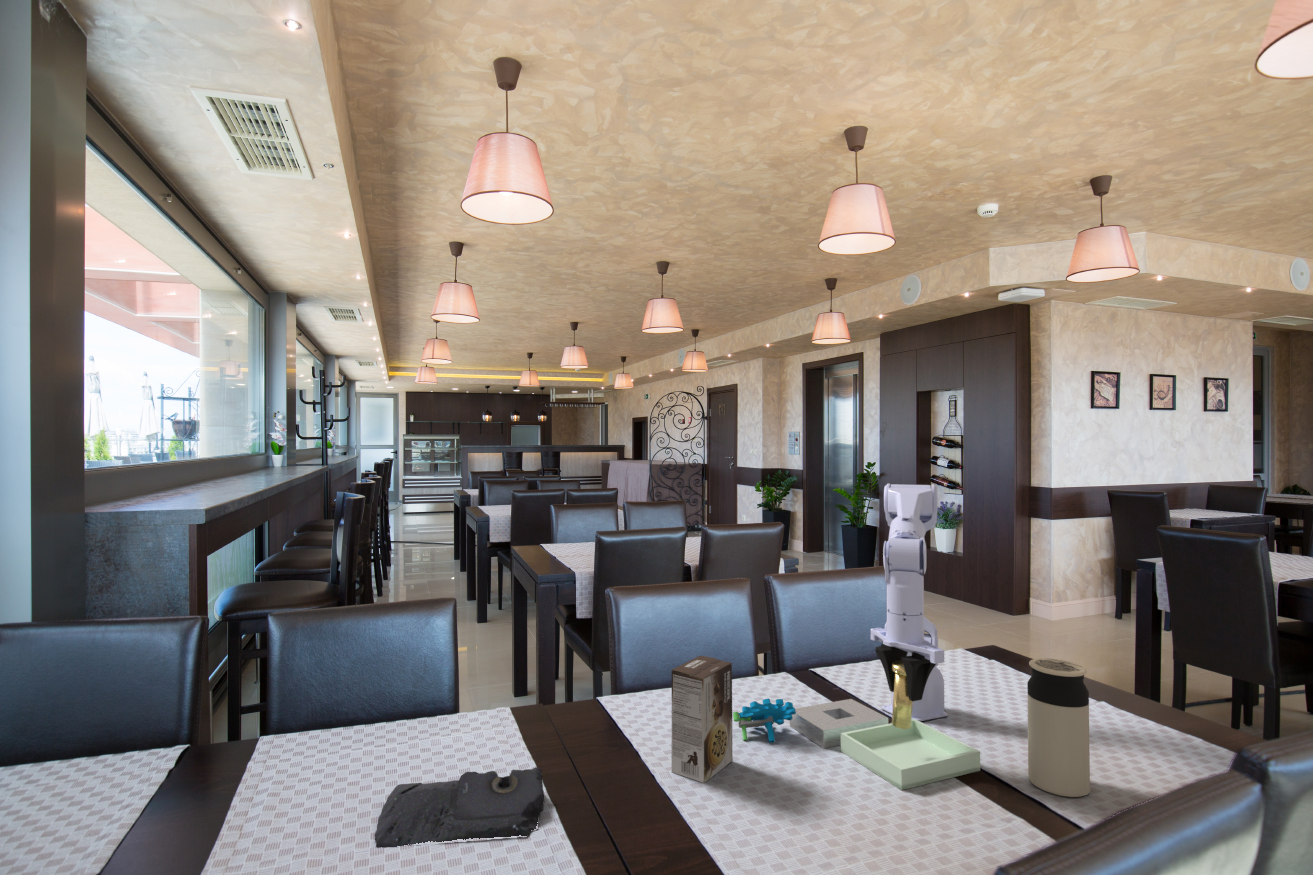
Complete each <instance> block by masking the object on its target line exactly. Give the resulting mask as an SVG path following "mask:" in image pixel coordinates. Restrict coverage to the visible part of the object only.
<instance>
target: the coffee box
mask: <svg viewBox="0 0 1313 875" xmlns="http://www.w3.org/2000/svg"><path fill="white" fill-rule="evenodd" d="M670 743H671V756H670V757H671V773H674V774H675V775H676V774H677V775H680V776H683V777H685V778H688V779H691V780H693V781H697V782H699V783H703V784H705V783H706V782H707V781H709V780H710V779H712V778H713V776H715V775H717V774H718V773H719V772H720V771H721V770H723V769H724V768H726V767H727V765H729V764H730V763H731V762H732V761H733V760H734V759H733V758H734V756H733V662H731V661H725V660H721V659H718V658H715V657H712V656H711V657H710V656H705V655H698V656H696V657H693V659H690V660H689V661H686V662H685V663H682V664H679V665H678V666H676V667H674V668H673V669H671V742H670Z"/></svg>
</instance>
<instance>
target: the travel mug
mask: <svg viewBox="0 0 1313 875" xmlns="http://www.w3.org/2000/svg"><path fill="white" fill-rule="evenodd" d="M1028 664H1029V667H1030V668H1031V676H1030V677H1029V679H1028V681H1027V682H1026V683H1027V684H1026V685H1027V764H1028V765H1027V772H1028V773H1027V775H1028V776H1027V777H1028V780H1029V781H1030V783H1032V784H1033V785H1034V786H1036V787H1037V788H1039V789H1040V790H1043V791H1045V792H1047V793H1049V794H1052V795H1056V796H1059V797H1065V798H1067V797H1068V798H1079V797H1084V796H1086V795H1089V794H1090V792H1091V778H1090V775H1091V772H1090V771H1091V768H1090V767H1091V765H1090V764H1091V762H1090V757H1091V756H1090V753H1091V752H1090V694H1089V693H1090V691H1089V690H1088V688H1087V686H1086V684H1085V683H1084V680H1085V679H1084V678H1085V676H1086V674H1087V669H1086V668H1085V667H1084V666H1083V665H1081V664H1079V663H1075V662H1072V661H1069V660H1063V659H1058V658H1048V657H1043V658H1041V657H1040V658H1033V659H1031V660H1029V662H1028Z"/></svg>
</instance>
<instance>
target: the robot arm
mask: <svg viewBox="0 0 1313 875" xmlns="http://www.w3.org/2000/svg"><path fill="white" fill-rule="evenodd" d="M883 509H884V510H883V512H884V514H885V515H884V516H885V520H886V522H887V526H888V527H889V533H888V538H887V539H888V540H887V541H886V540H884V542H883V548H882V549H883V550H882V552H883V553H882V555H883V557H882V559H883V560H882V561H883V568H884V575H885V576H884V578H885V581H884V582H885V584H886V622H885V624H884V628H882V627H873V628H870V641H874V642H877V641H878V642H880V643H881V644H880V646H875V648H874V650H875V651H874V652H875V653H876V655H877V657H878V658H879V661H880V662H881V665H882V667H883V669H884V674H885V677H886V680H887V685H888V689H889V691H890V699H891V700H890V704H886V705H885V704H884V705H881V707H880V708H881V710H883V711H885V712H887V713H889V714H890V715H892V711H893V695H894V679H895V672H893V671H892V662H894V661H898V660H901V661H902V662H903V665H904V668H905V672H906V676H907V686H908V697H909V700H911V701H913V705H912V719H916V720H918V721H920V722H925V721H929V720H933V719H940V718H945V717H948V716H949V714H948V712H946V711H945V680H944V677H943V674H942V672H941V670H940V668H938V666H939V664H943V663H945V650H944V649H942V648H939V637H938V628H937V627H936V626H937V625H936V624H935V623H933V622H932V621H931V620H929V619H928V618H927V617H926V616H925V609H924V608H925V603H924V602H925V599H924V598H925V596H924V595H925V593H924V592H925V591H924V590H925V588H924V585H925V584H924V582H925V581H924V575H925V574H926V573H927V572H926V571H927V542H926V540H925V536H926V533H927V532H928V531H931V530H932V529H935V528H936V524H937V522H938V520H937V519H938V518H937V517H938V487H937V486H936V485H935V484H934V483H932V484H931V485H930V484H896V483H895V484H891V483H886V485H884V488H883Z"/></svg>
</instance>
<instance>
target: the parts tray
mask: <svg viewBox="0 0 1313 875" xmlns="http://www.w3.org/2000/svg"><path fill="white" fill-rule="evenodd" d="M840 752H841V753H843V754H844V755H846V756H847V757H849V758H850V759H852V760H854V761H855V762H857V763H858V764H859V765H861V766H863V767H864V768H866V769H867V770H869V771H871V772H872V773H874V774H875V775H877V776H879V777H880V778H881V779H884V780H885V781H886V782H888V783H890V784H891V785H892V786H894V787H896V788H897V789H898V790H901V791H904V790H908V789H912V788H915V787H919V786H924V785H928V784H932V783H935V782H939V781H940V782H941V781H944V780H949V779H952V778H956V777H959V776H960V777H961V776H963V775H967V774H972V773H977V772H980V771H981V751H980V750H978V749H976V748H975V747H972V746H970V745H968V744H966V743H964V742H962V741H960V740H958V739H956V738H954V737H952V736H950V735H948V734H946V733H944V732H942V731H939V730H938V729H936V728H934V727H932V726H930V725H927V724H926V723H924V722H923V721H918V720H916V719H912V721H911V728H909V729H900V728H897V727H895V726H894V725H893V724H892V722H890V723H888V724H885V725H880V726H875V727H870V728H865V729H859V730H854V731H849V732H844V733H841V745H840Z"/></svg>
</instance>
